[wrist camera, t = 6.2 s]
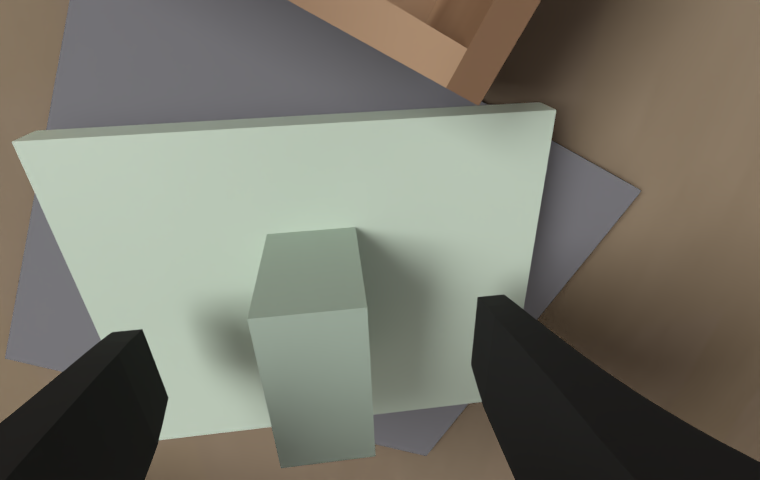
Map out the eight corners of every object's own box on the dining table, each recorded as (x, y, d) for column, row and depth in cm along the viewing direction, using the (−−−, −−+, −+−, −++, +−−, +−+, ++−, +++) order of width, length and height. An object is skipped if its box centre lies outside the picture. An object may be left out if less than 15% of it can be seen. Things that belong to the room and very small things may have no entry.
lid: (528, 96, 10) (649, 153, 7) (493, 366, 15) (553, 494, 11) (51, 123, 9) (-132, 207, 6) (161, 402, 14) (100, 557, 10)
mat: (634, 186, 12) (641, 190, 12) (424, 448, 17) (426, 456, 17) (98, -114, 8) (90, -118, 8) (11, 351, 13) (5, 358, 12)
